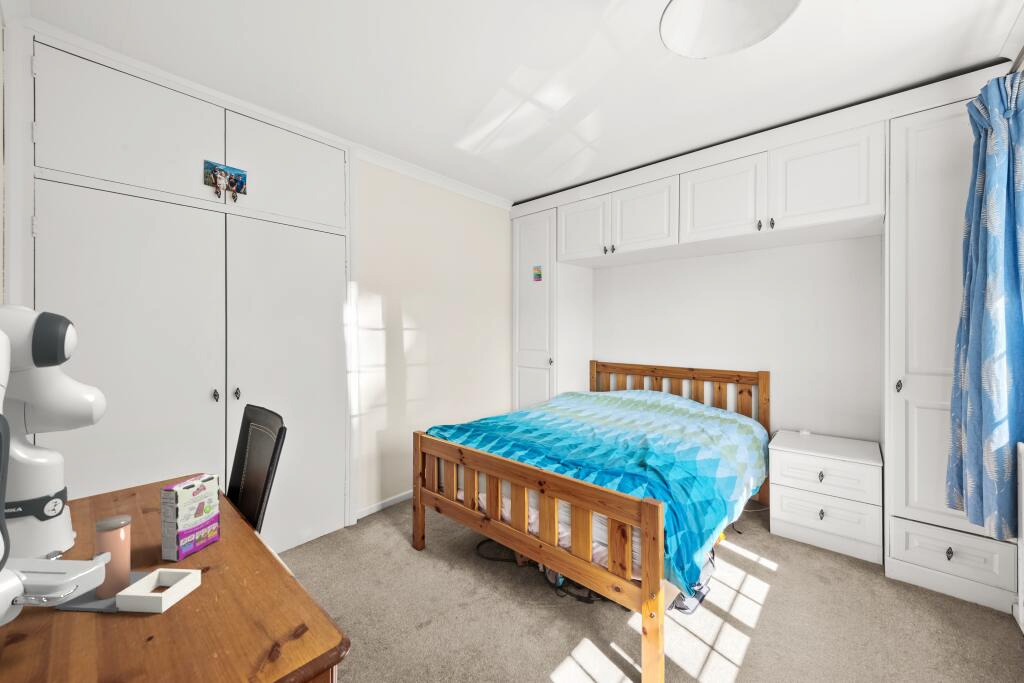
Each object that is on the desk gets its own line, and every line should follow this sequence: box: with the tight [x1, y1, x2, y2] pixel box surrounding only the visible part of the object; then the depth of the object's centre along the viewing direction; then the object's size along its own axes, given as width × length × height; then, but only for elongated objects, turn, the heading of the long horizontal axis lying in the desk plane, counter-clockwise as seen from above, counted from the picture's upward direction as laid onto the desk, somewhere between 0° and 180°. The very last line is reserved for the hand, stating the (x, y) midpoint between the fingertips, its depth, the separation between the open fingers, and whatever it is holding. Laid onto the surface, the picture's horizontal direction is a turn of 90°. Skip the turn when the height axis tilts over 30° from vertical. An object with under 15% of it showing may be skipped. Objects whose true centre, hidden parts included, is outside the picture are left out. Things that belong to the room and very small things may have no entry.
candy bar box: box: [160, 473, 221, 562], centre depth 102 cm, size 11×5×16 cm, turn 168°
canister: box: [94, 514, 132, 599], centre depth 84 cm, size 5×5×14 cm
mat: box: [54, 570, 152, 613], centre depth 85 cm, size 12×12×1 cm
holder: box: [116, 567, 202, 614], centre depth 83 cm, size 9×9×3 cm
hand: (82, 555), depth 78 cm, fingers open, 8 cm apart
